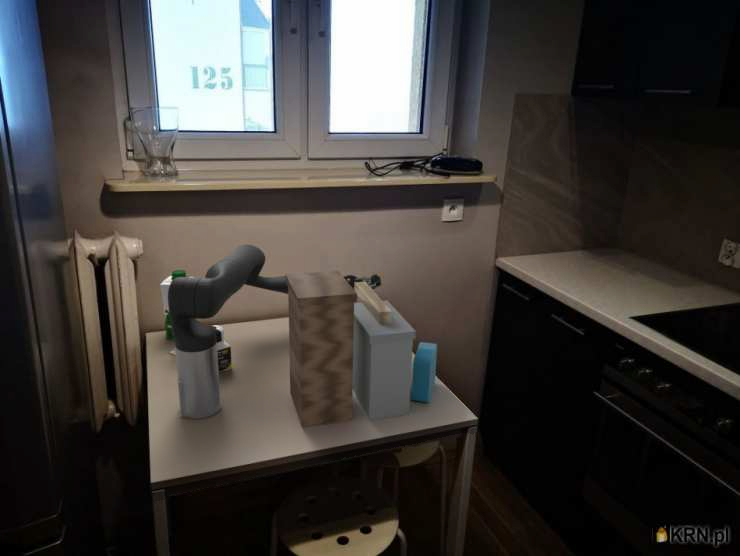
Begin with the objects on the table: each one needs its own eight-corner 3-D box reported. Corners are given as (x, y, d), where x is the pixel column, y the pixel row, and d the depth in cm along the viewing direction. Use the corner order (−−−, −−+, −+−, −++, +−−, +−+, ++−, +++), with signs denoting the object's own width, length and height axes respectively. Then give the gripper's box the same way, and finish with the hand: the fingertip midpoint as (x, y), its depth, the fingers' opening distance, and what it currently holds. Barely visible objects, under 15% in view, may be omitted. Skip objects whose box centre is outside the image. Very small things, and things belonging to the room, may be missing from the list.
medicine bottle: (207, 376, 151) (204, 335, 147) (197, 366, 156) (193, 326, 153) (232, 368, 156) (230, 329, 152) (220, 359, 161) (218, 320, 157)
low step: (367, 420, 133) (370, 335, 126) (345, 379, 151) (346, 303, 144) (410, 414, 136) (415, 331, 129) (384, 375, 155) (387, 300, 148)
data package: (418, 380, 152) (420, 339, 149) (434, 382, 151) (437, 342, 148) (410, 402, 141) (413, 359, 138) (428, 405, 140) (431, 362, 137)
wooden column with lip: (299, 428, 129) (297, 298, 119) (288, 392, 144) (285, 274, 134) (354, 420, 133) (356, 293, 123) (337, 386, 148) (338, 271, 138)
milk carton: (200, 329, 180) (195, 270, 174) (190, 341, 172) (185, 279, 165) (173, 328, 180) (167, 269, 174) (162, 340, 172) (155, 278, 166)
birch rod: (379, 324, 132) (379, 312, 131) (354, 292, 152) (354, 282, 151) (391, 322, 133) (391, 311, 132) (364, 292, 153) (365, 281, 152)
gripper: (371, 300, 168) (387, 290, 153) (325, 304, 164) (337, 294, 149) (368, 276, 170) (384, 263, 154) (322, 279, 166) (334, 266, 150)
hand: (361, 278), depth 152 cm, fingers open, 8 cm apart
